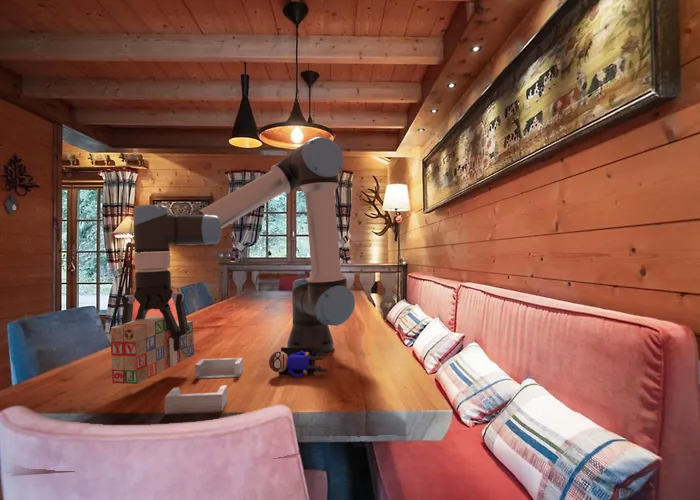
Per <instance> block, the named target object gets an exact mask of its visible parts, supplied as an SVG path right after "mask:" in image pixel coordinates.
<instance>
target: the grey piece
mask: <svg viewBox="0 0 700 500" xmlns="http://www.w3.org/2000/svg"><path fill="white" fill-rule="evenodd" d="M243 362H244V361H243V357H230V358H229V357H227V358H226V357H225V358H202V359H199V360H198V361H197V362H196V364H194V379H196V380H198V379H199V380H202V379H223V378H239V377H241V375H242V373H243V366H244V365H243Z"/></svg>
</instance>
